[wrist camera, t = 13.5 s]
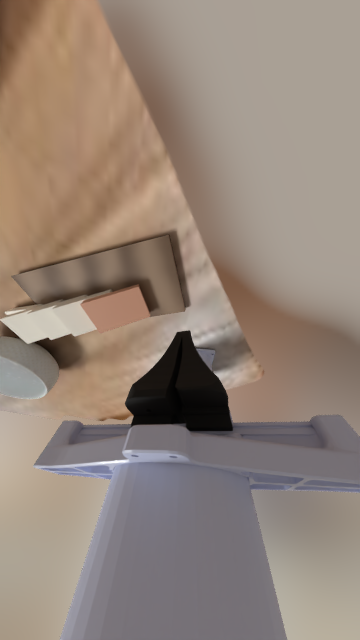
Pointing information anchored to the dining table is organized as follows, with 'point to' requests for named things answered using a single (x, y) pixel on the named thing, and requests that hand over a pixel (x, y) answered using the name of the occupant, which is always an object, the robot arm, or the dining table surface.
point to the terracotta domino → (116, 308)
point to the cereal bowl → (26, 369)
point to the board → (112, 276)
